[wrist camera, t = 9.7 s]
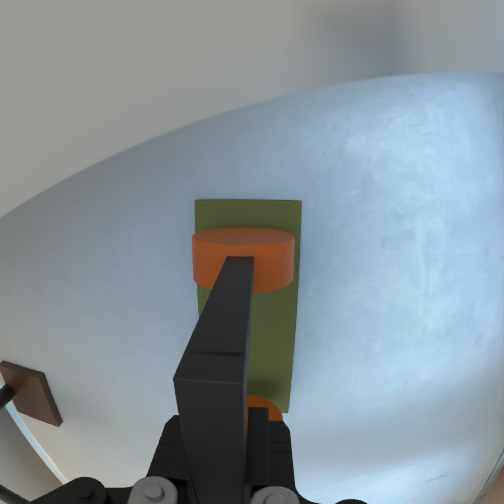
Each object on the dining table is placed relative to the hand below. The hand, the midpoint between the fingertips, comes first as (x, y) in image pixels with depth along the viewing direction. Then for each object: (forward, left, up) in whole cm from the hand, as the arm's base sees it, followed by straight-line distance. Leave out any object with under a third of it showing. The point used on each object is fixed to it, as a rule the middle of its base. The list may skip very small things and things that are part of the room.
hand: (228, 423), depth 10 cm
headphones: (+3, 0, -13) cm, 13 cm away
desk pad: (+3, 0, -15) cm, 16 cm away
